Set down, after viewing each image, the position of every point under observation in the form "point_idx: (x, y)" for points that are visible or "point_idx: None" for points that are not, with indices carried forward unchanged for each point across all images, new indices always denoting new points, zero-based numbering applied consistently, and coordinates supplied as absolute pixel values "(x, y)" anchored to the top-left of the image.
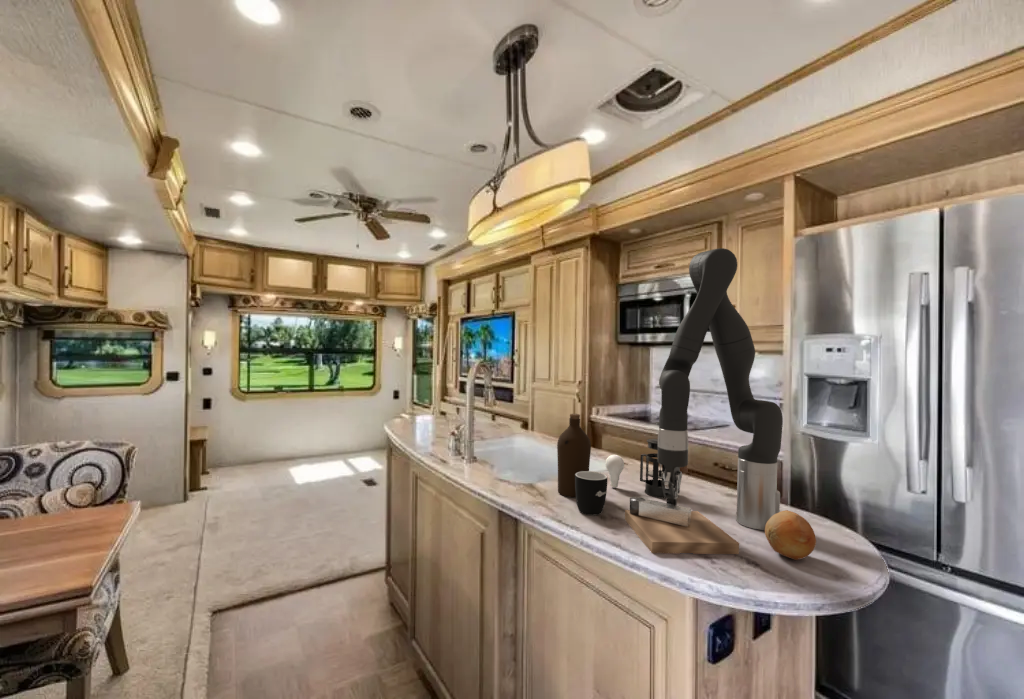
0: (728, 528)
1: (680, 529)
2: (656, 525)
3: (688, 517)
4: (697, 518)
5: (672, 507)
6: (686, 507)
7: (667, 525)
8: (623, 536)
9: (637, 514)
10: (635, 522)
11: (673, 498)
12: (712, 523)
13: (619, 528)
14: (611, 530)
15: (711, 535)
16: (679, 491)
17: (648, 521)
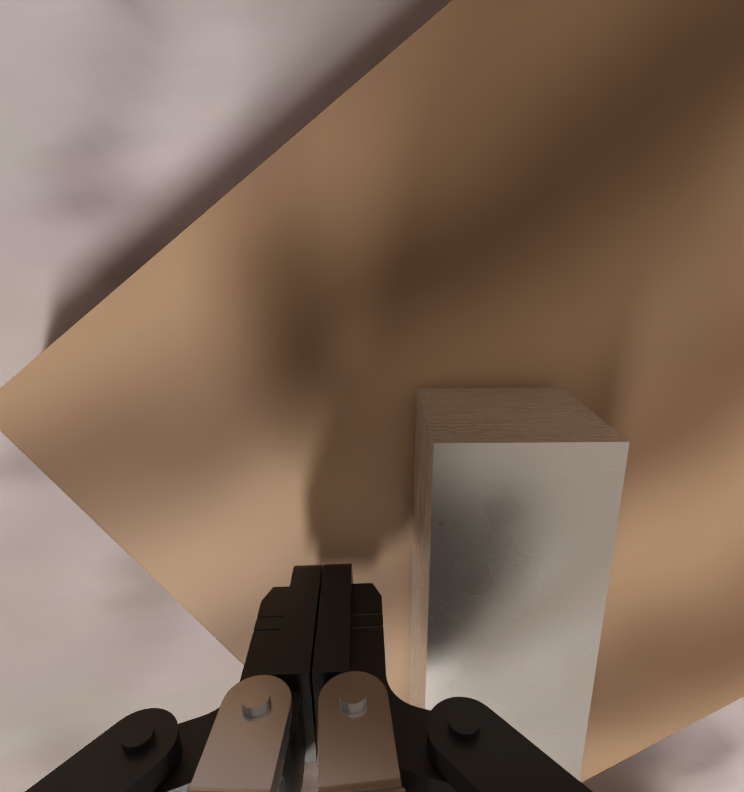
0: (6, 81)
1: (634, 426)
2: (647, 605)
3: (553, 414)
4: (210, 361)
5: (543, 625)
6: (432, 498)
7: None
8: (738, 702)
9: None
10: (671, 734)
11: (485, 711)
12: (252, 193)
13: None
14: (676, 779)
15: (638, 130)
16: (137, 734)
17: None
